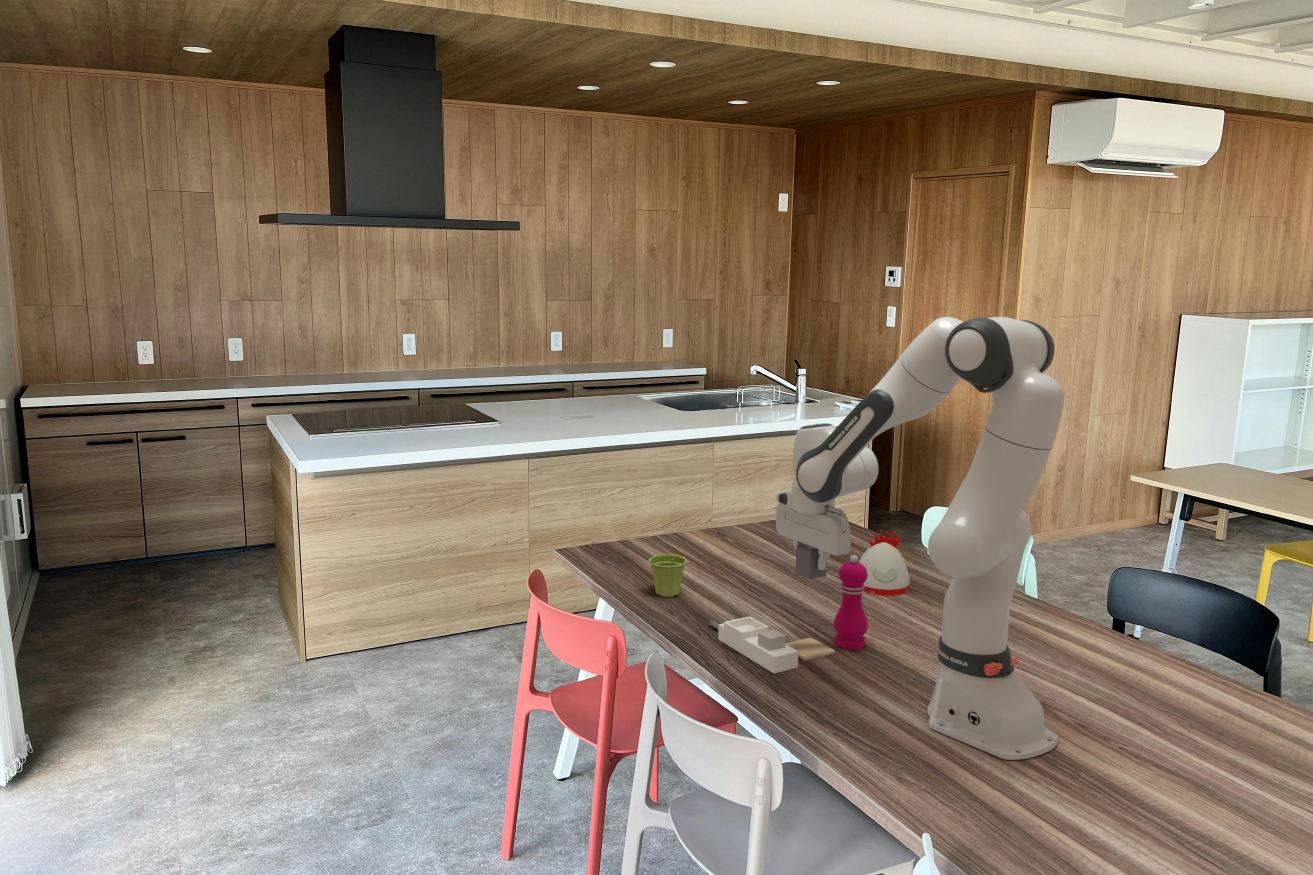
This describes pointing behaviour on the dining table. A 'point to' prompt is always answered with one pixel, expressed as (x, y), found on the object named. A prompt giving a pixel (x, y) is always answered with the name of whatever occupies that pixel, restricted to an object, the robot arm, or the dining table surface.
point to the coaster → (810, 648)
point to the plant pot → (667, 574)
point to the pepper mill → (851, 606)
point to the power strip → (750, 645)
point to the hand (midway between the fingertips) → (811, 565)
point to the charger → (808, 562)
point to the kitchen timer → (885, 567)
